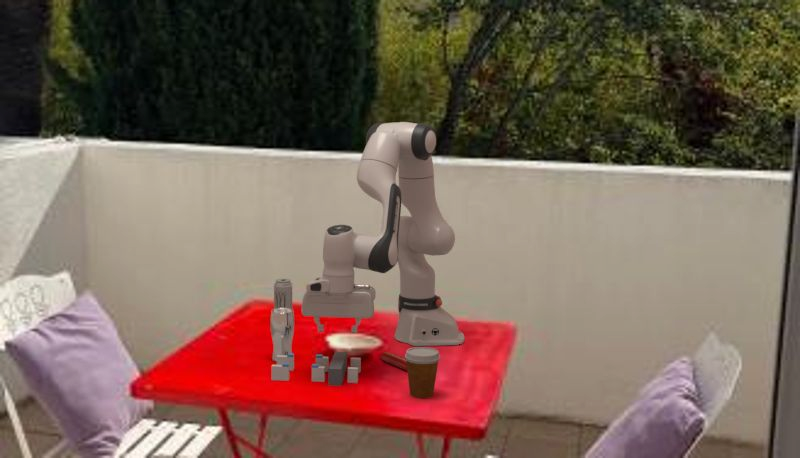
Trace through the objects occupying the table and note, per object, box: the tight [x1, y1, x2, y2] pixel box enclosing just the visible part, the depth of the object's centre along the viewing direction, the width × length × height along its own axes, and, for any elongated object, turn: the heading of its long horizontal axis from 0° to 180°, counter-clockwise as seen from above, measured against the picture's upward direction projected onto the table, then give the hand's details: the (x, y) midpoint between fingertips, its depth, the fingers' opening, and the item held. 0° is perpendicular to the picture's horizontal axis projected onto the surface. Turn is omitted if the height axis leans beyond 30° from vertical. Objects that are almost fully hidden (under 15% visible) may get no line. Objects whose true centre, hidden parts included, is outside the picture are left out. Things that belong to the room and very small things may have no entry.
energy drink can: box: [273, 278, 293, 309], centre depth 340 cm, size 6×6×15 cm
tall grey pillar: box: [327, 351, 348, 387], centre depth 288 cm, size 4×16×5 cm, turn 177°
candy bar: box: [378, 351, 408, 372], centre depth 299 cm, size 16×4×3 cm, turn 37°
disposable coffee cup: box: [404, 346, 441, 399], centre depth 273 cm, size 10×10×12 cm
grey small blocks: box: [270, 353, 362, 384], centre depth 288 cm, size 24×10×5 cm, turn 87°
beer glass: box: [270, 308, 295, 363], centre depth 301 cm, size 7×7×15 cm
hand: (337, 332), depth 286 cm, fingers open, 8 cm apart
